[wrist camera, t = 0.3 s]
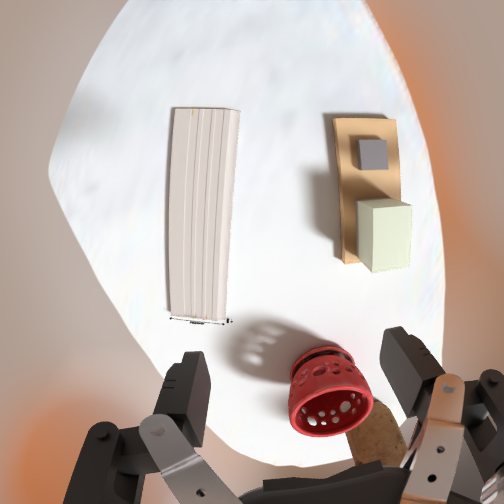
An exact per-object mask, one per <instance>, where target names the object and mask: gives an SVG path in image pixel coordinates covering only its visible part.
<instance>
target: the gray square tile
mask: <svg viewBox="0 0 504 504" xmlns="http://www.w3.org/2000/svg"><path fill="white" fill-rule="evenodd" d="M356 146H357V156H358V169H359V170H362V171H363V170H389V167H388V153H387V141H386V140H356Z"/></svg>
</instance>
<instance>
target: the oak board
mask: <svg viewBox="0 0 504 504" xmlns="http://www.w3.org/2000/svg"><path fill="white" fill-rule="evenodd" d="M332 121H333V129H334V138H335V147H336V157H337V168H338V181H339V196H340V214H341V244H342V262H343V263H344V264H351V263H358V262H361V261H360V260H359V259H358V258H357V257H356V207H355V200H362V199H375V198H390V197H391V198H393V199H396V200H399V201H401V183H400V162H399V148H398V137H397V127H396V119H376V118H335V119H332ZM356 140H386V141H387V153H388V167H389V170H363V171H362V170H359V169H358V156H357V146H356Z"/></svg>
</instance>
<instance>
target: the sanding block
mask: <svg viewBox="0 0 504 504" xmlns="http://www.w3.org/2000/svg"><path fill="white" fill-rule="evenodd" d="M355 207H356V257H357V258H358V259H359V260H360V261H361V262H362V263H363V264H364V265H365V266H366V267H367V268H368V269H369V270H370V271H371V272H372V273H376V272H382V271H388V270H395V269H401V268H407V267H409V263H410V250H411V232H412V205H410V204H407V203H404V202H402V201H399V200H396V199H393V198H391V197H390V198H375V199H362V200H355Z"/></svg>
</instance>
